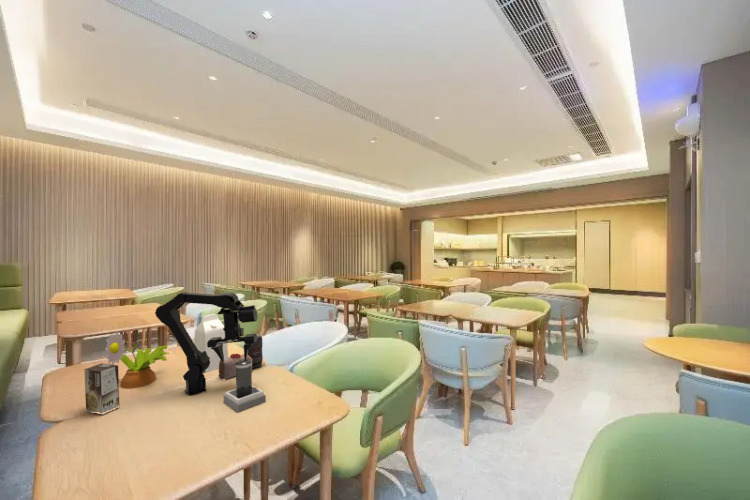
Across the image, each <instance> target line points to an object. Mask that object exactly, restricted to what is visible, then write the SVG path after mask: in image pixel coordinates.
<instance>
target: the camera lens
mask: <svg viewBox="0 0 750 500" xmlns="http://www.w3.org/2000/svg"><path fill="white" fill-rule="evenodd" d="M256 335H257V340H256V342H255V343H253V344H252V345H251V346H250V348H249V351H248V355H249V356H250V357H251V358H252V370H257V369H256V368H258V369H260V368H261V367H262V364H263V359H264V357H263V336H262V335H261V334H260V335H258V334H256Z"/></svg>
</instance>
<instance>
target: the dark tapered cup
mask: <svg viewBox="0 0 750 500" xmlns="http://www.w3.org/2000/svg"><path fill="white" fill-rule="evenodd" d="M235 365H236V377H235V386H236V388H235V389H236V396H237V398H238V399H240V398H243V397H245V396H248V395H251V394H252V385H253V377H252V376H253V374H252V372H253V369H252V362H251V360H249V359H245V360H239V361H237V362H236V364H235Z"/></svg>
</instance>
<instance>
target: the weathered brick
mask: <svg viewBox="0 0 750 500" xmlns="http://www.w3.org/2000/svg"><path fill="white" fill-rule="evenodd" d="M247 359H249V360H251V362H252V358H251V357H250V356H249V355H247ZM239 360H245V358H244V353H242V354H239V353H231V354H230V356H229V357H228V358H226V359H224V362H222V361H221V360H220V361H219V369H218V378H219V379H221V380H223V379H226V380H228V379H227V378H229V379H232V378H234V376H235V378H236V365H235V364H236V362H237V361H239ZM231 377H232V378H231Z"/></svg>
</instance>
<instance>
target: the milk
mask: <svg viewBox="0 0 750 500" xmlns="http://www.w3.org/2000/svg"><path fill="white" fill-rule="evenodd" d="M201 319H202V320H201V322H200V323H199V324H198V326H196V328H195V330H194V336H193V337H194V338H193V339H194V341H193V342H194V344H195V346H196V347H197V349H198V350H199V351H201V352H203V351H206V353H207V355H208V357H209V358H210V359H209V360H210V365H209V367H208V368H207V369H206V371H205V373H204V374H206V373H210V372H213V371H216V370H219V361H220V360H221V359H220V358H219V356H218V355H217V353H216V352H215V351H214V350H213V349H211V348H212V347H210V348H208V347H207V342H208V341H209V340H210V339H211V338H213V337H221V338H222V339H224V338H225V332H224V331H223V328H224V323H222V321H221V320H220V318H219V316H218V314H217V313H212V314H207V315H203V316H202V318H201ZM228 349H229V348H228V343H223V354H224V359H226V358H229V350H228Z"/></svg>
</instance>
